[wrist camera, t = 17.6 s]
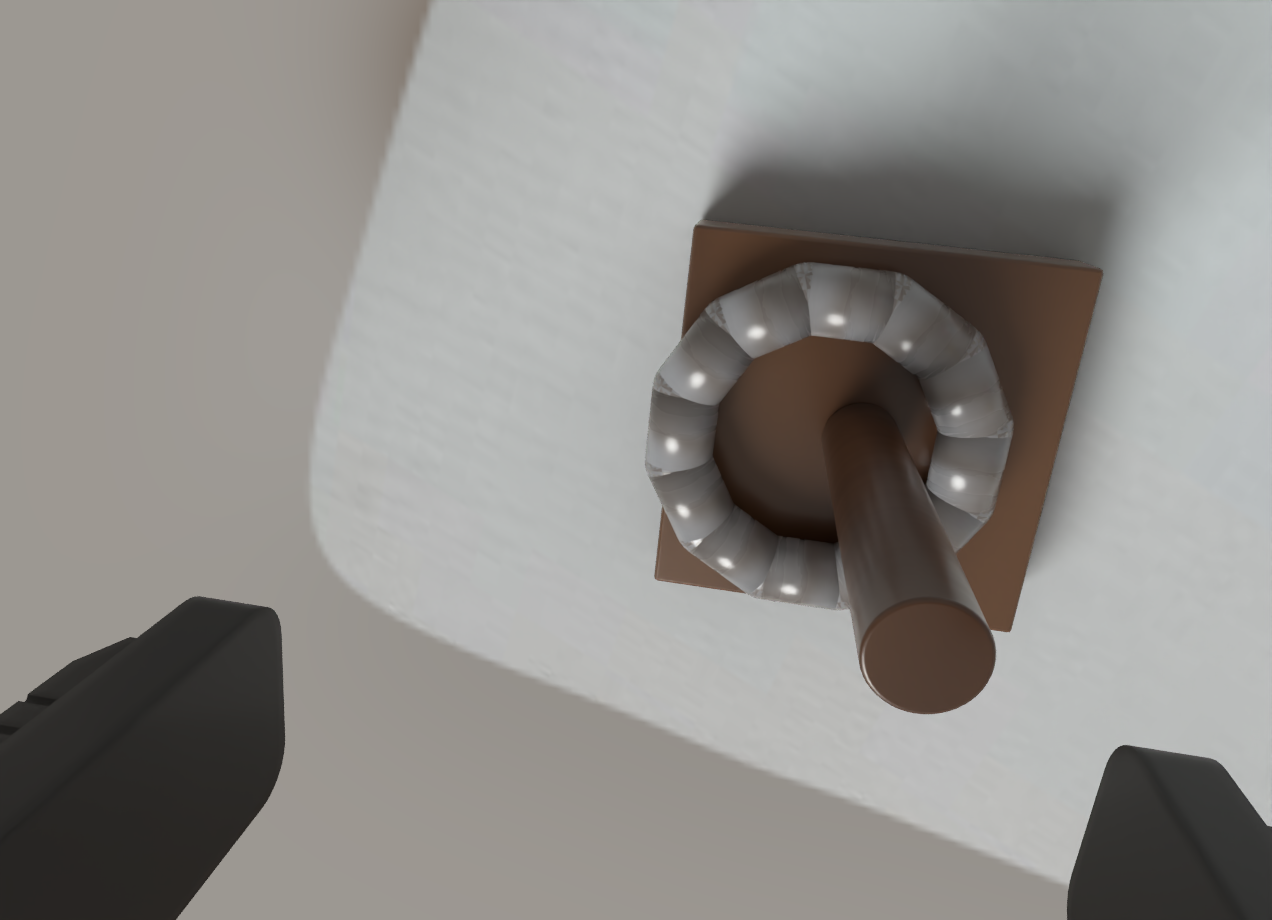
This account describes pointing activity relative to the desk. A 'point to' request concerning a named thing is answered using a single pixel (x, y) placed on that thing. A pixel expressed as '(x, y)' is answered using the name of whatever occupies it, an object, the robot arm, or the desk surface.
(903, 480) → the stand
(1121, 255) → the desk surface
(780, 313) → the grey beaded ring
